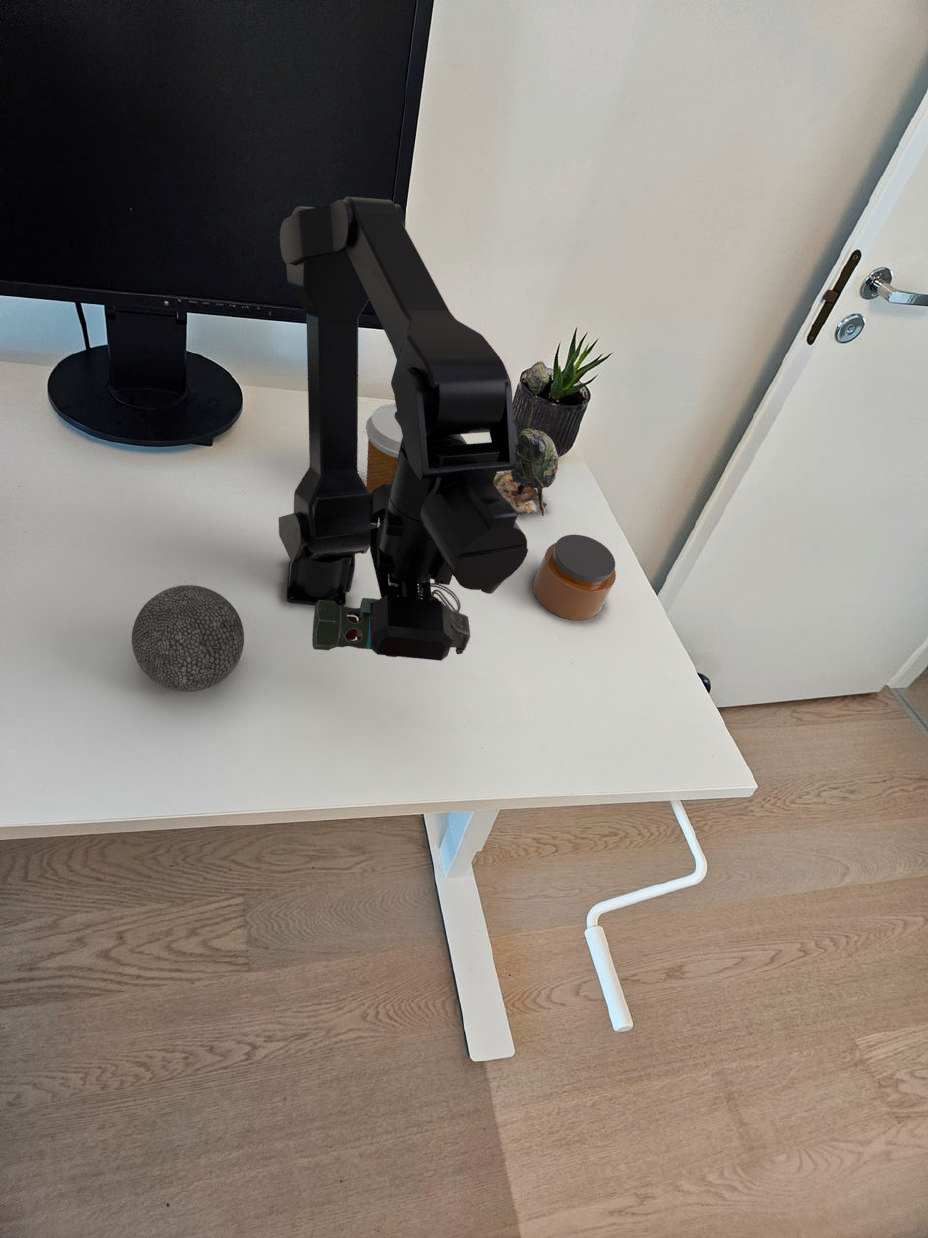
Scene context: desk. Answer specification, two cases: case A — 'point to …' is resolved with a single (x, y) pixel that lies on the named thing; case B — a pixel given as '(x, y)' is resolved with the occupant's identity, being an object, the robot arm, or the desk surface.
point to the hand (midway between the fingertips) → (390, 632)
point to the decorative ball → (188, 638)
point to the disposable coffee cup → (382, 446)
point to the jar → (575, 577)
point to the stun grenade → (343, 629)
